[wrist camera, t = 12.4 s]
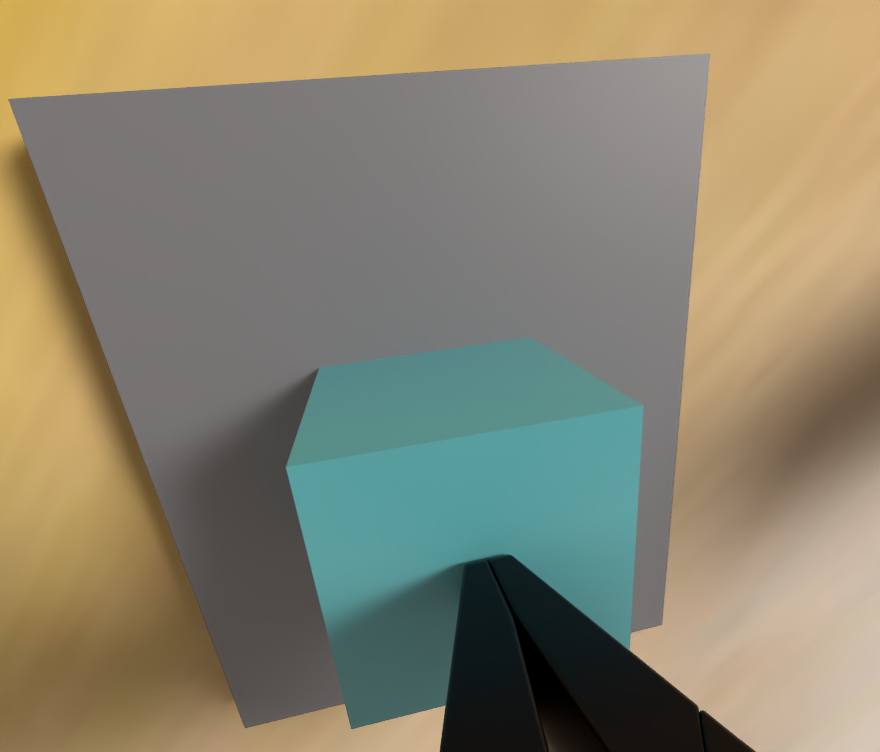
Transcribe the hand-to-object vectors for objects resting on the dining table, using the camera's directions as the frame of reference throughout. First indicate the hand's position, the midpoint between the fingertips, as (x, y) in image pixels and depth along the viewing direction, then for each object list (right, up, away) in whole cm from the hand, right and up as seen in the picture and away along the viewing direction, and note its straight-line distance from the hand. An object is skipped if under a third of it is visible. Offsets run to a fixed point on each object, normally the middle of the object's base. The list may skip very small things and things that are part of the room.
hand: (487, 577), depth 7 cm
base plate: (-1, +2, +6) cm, 6 cm away
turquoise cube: (-1, +1, +5) cm, 5 cm away
